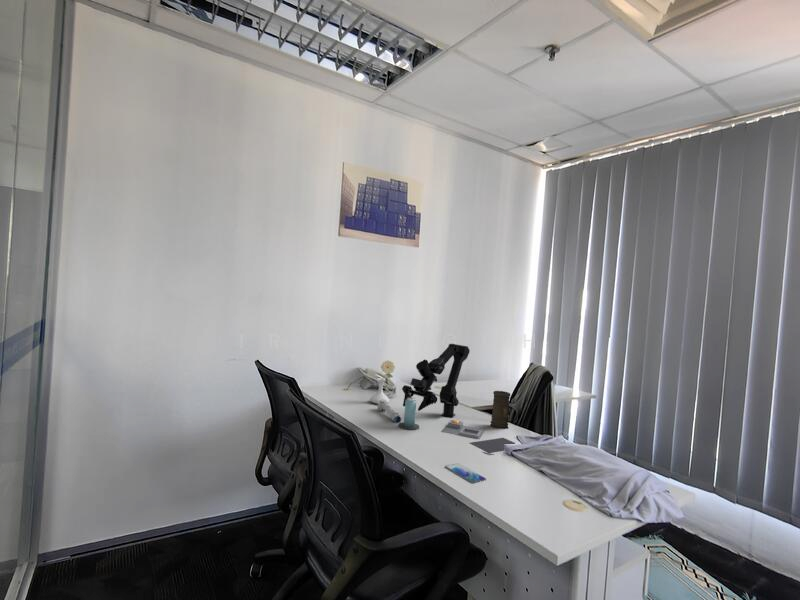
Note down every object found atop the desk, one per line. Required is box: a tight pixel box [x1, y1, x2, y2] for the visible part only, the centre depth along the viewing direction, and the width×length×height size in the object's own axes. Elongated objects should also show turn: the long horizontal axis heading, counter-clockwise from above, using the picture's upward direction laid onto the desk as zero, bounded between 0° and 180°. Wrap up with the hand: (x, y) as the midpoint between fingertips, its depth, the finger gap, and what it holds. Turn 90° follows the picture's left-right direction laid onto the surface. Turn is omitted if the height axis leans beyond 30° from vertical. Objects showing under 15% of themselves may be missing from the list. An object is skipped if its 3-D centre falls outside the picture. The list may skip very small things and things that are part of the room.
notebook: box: [469, 437, 516, 456], centre depth 182 cm, size 13×2×21 cm
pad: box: [398, 421, 420, 431], centre depth 200 cm, size 10×10×1 cm
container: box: [489, 390, 511, 430], centre depth 210 cm, size 9×9×18 cm
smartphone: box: [444, 463, 487, 484], centre depth 151 cm, size 7×1×15 cm
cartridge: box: [403, 397, 417, 427], centre depth 200 cm, size 5×5×13 cm
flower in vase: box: [369, 359, 396, 405], centre depth 241 cm, size 13×11×25 cm
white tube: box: [377, 399, 402, 424], centre depth 216 cm, size 5×7×25 cm
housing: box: [440, 419, 486, 440], centre depth 198 cm, size 16×18×3 cm
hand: (410, 408), depth 201 cm, fingers open, 9 cm apart
